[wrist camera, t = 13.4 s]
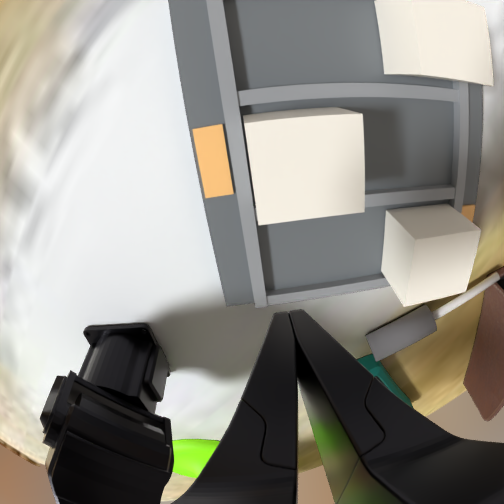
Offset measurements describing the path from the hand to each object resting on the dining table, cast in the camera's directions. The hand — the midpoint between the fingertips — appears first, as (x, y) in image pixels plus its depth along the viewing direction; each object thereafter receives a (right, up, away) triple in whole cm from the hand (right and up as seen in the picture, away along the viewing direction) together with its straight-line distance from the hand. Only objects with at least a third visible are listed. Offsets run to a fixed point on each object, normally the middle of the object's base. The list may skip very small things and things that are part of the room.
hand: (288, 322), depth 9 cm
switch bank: (+5, +9, +8) cm, 13 cm away
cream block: (+1, +7, +7) cm, 11 cm away
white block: (+10, +3, +10) cm, 15 cm away
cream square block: (+8, +14, +4) cm, 17 cm away
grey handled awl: (+14, -3, +14) cm, 20 cm away
